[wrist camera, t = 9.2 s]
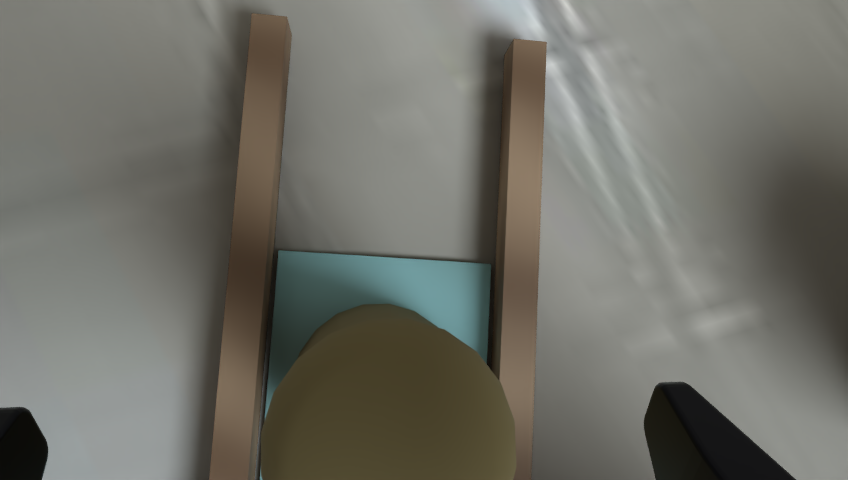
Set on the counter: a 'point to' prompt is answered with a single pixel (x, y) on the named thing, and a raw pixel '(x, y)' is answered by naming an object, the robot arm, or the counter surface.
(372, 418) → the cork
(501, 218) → the rail track
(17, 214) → the counter surface
